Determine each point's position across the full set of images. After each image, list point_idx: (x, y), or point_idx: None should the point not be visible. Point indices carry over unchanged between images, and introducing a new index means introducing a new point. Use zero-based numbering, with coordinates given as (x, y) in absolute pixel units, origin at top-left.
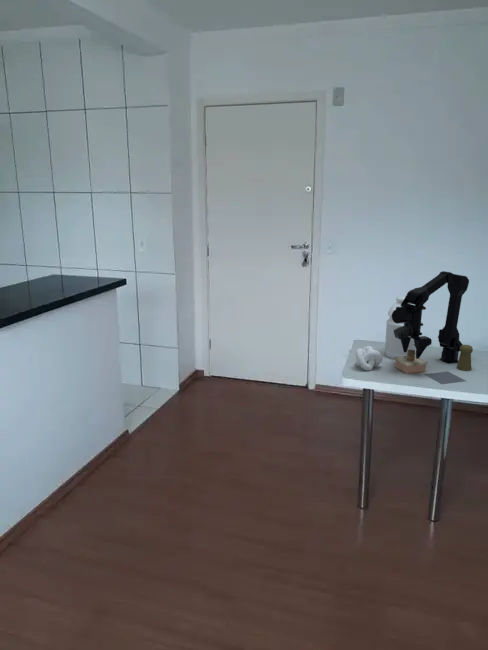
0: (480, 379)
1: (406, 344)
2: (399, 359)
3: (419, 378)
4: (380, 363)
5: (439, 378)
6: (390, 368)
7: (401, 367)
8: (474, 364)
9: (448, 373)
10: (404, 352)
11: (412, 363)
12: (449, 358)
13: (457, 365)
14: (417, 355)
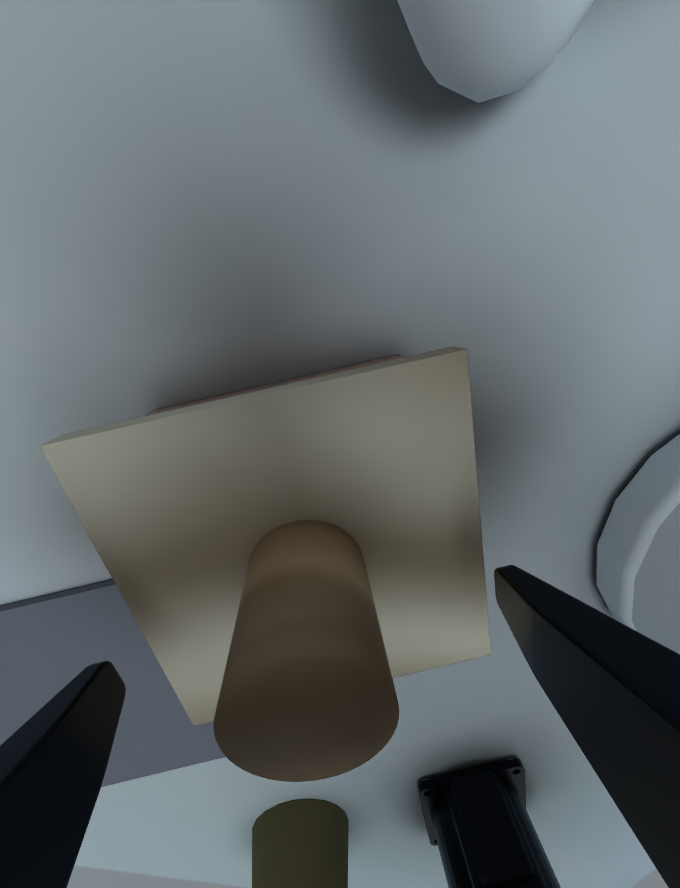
0: (101, 861)
1: (635, 775)
2: (323, 402)
3: (41, 504)
4: (436, 79)
5: (41, 665)
6: (383, 286)
7: None
8: (389, 879)
9: (189, 746)
10: (676, 581)
11: (107, 543)
12: (449, 836)
13: (312, 838)
14: (4, 751)
